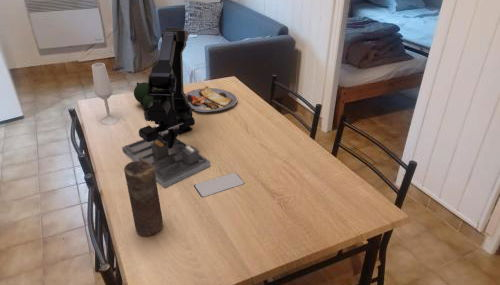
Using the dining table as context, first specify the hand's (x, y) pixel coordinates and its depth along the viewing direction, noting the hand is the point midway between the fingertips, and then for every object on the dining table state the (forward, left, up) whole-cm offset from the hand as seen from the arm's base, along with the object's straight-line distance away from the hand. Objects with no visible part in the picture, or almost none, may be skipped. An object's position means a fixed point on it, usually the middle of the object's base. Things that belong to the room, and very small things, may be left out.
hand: (170, 148), depth 128 cm
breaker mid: (+4, 0, -1) cm, 4 cm away
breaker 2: (-2, +10, -1) cm, 10 cm away
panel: (+2, 0, -4) cm, 4 cm away
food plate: (-38, -27, -4) cm, 47 cm away
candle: (+23, +26, -4) cm, 35 cm away
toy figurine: (-14, -37, -4) cm, 40 cm away
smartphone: (-3, +24, -4) cm, 24 cm away
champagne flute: (+4, -40, -4) cm, 41 cm away
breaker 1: (-2, -10, -1) cm, 10 cm away
